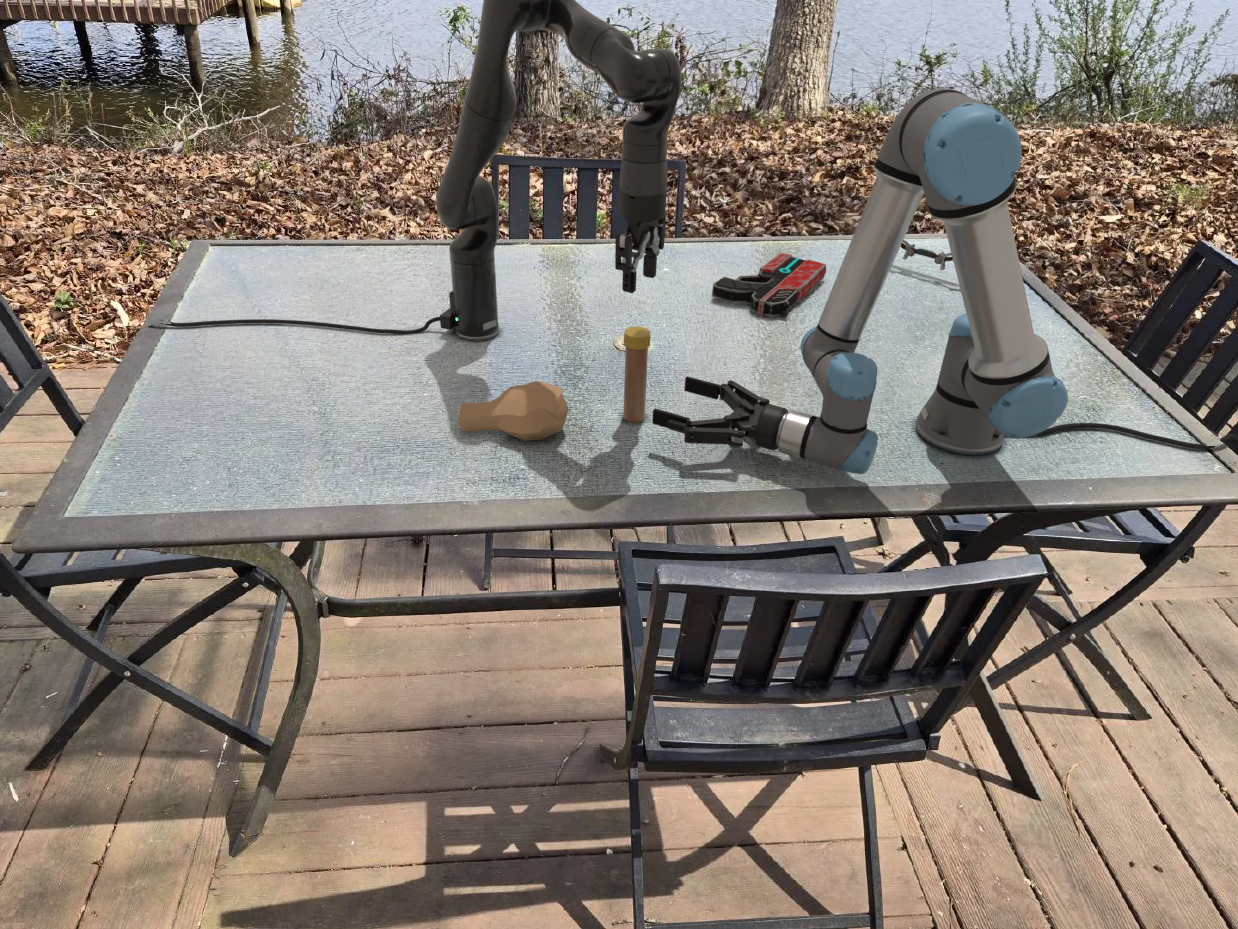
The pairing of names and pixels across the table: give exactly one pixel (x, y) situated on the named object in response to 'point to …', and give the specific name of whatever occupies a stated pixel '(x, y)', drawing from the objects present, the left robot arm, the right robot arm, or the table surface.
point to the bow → (938, 258)
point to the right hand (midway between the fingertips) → (669, 399)
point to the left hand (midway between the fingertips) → (639, 283)
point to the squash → (519, 412)
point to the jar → (635, 385)
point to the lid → (637, 338)
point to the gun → (772, 285)
